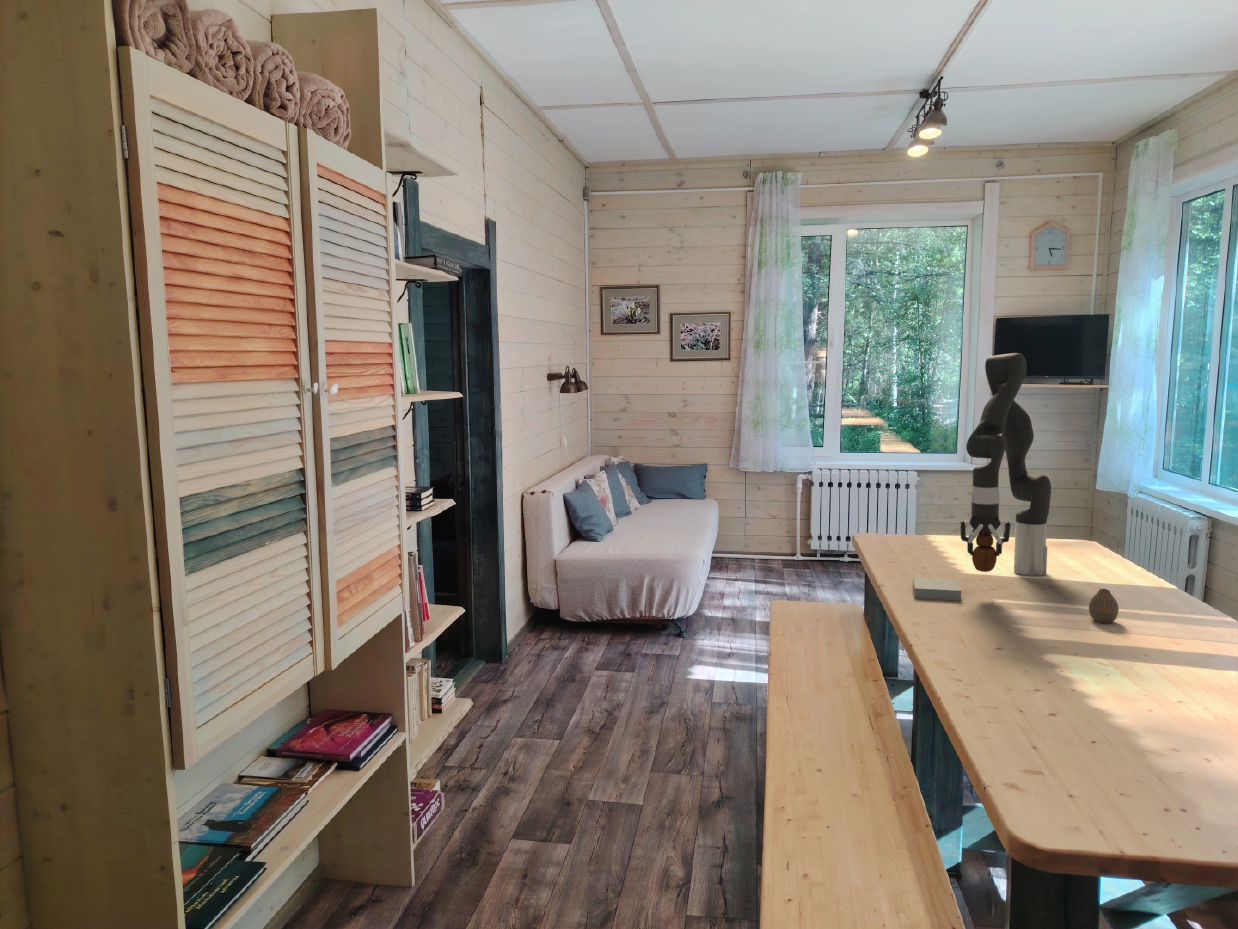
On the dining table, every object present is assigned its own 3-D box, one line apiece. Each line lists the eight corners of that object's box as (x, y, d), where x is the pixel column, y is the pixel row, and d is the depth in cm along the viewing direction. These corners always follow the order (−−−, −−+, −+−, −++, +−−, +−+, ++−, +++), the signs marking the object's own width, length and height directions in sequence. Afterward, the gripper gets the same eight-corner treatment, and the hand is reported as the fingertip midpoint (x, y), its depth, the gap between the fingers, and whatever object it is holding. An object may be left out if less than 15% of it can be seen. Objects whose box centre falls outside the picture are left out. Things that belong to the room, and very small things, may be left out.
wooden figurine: (984, 574, 240) (985, 525, 238) (968, 570, 245) (969, 521, 243) (1000, 570, 243) (1001, 521, 241) (983, 566, 248) (984, 518, 247)
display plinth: (956, 588, 254) (957, 579, 253) (960, 600, 241) (961, 590, 241) (912, 586, 257) (913, 577, 257) (914, 597, 245) (914, 588, 245)
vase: (1116, 618, 221) (1117, 587, 220) (1119, 626, 215) (1121, 594, 214) (1087, 616, 224) (1088, 585, 223) (1089, 623, 218) (1091, 592, 217)
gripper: (1009, 498, 243) (1008, 552, 245) (958, 498, 247) (957, 551, 249) (1013, 503, 236) (1012, 559, 238) (960, 502, 240) (959, 557, 242)
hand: (984, 554), depth 244 cm, fingers closed on wooden figurine, 6 cm apart
